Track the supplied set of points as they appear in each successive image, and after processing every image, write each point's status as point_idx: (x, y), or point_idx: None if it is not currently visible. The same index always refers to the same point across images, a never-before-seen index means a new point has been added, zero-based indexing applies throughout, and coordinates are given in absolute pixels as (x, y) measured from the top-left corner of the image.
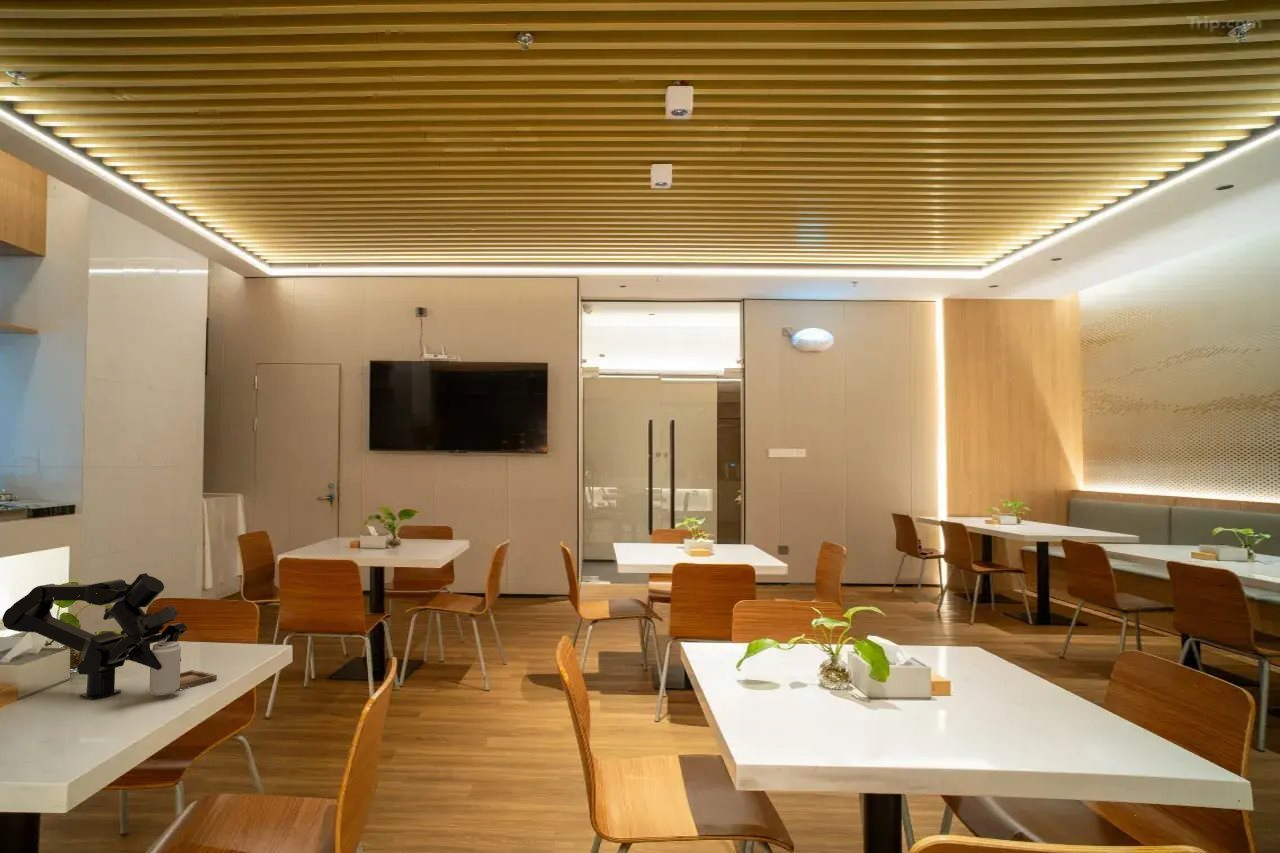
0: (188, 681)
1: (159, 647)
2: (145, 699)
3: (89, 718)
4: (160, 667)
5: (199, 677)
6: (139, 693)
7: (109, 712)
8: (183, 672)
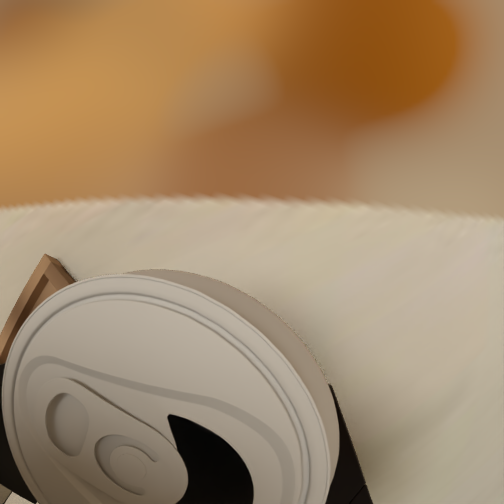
0: None
1: (327, 489)
2: None
3: (445, 481)
4: (330, 387)
5: None
6: None
7: (402, 469)
8: None
